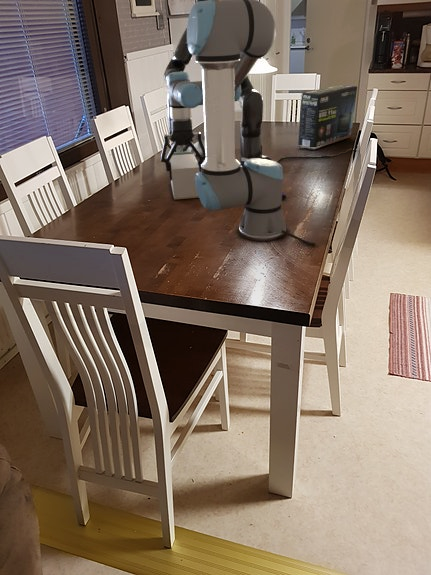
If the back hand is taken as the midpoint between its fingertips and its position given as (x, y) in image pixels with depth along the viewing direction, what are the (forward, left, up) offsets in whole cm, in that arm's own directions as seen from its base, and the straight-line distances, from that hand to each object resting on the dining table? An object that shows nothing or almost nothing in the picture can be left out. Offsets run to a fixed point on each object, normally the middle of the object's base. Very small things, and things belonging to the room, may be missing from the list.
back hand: (180, 160), depth 202 cm
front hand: (+17, +22, +1) cm, 28 cm away
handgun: (-7, +44, -6) cm, 45 cm away
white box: (+13, +17, -6) cm, 22 cm away
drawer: (+6, +7, -5) cm, 11 cm away
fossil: (-32, -19, -6) cm, 38 cm away
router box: (-85, +22, -6) cm, 88 cm away
